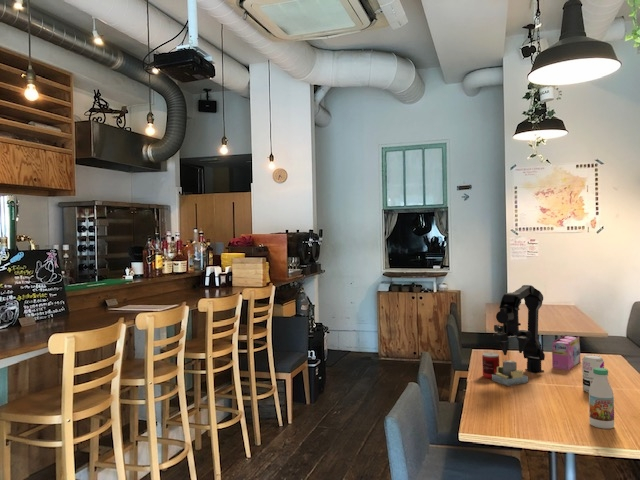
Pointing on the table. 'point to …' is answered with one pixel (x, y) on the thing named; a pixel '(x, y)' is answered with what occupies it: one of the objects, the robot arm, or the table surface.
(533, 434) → the table surface
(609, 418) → the milk bottle
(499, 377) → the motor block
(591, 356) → the supplement can
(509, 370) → the grey rounded piece
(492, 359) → the canned food
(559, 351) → the pink drink carton pack
